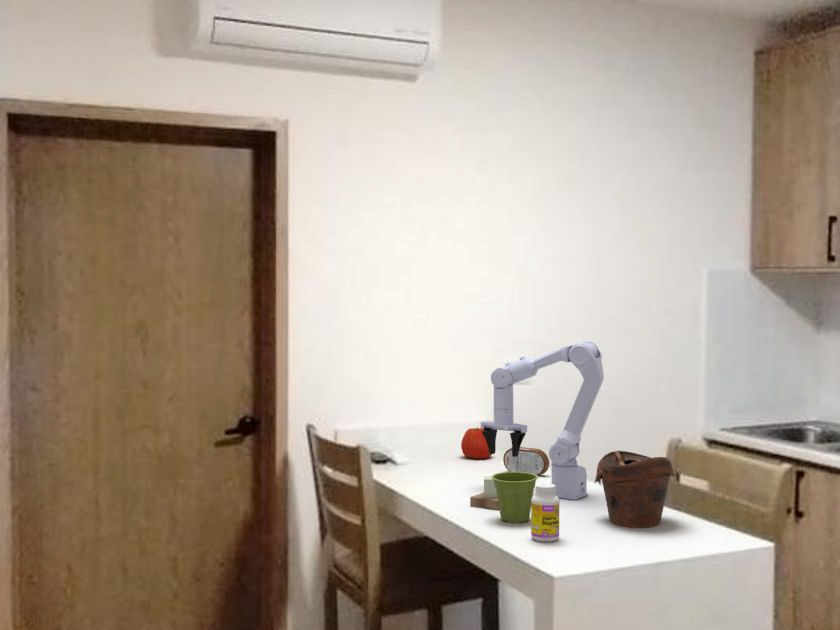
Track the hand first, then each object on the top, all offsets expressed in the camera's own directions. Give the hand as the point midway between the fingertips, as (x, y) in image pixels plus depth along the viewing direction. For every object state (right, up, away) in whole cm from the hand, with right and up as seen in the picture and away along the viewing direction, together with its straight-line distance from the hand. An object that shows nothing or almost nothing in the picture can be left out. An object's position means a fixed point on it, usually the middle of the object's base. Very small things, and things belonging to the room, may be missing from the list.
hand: (503, 455), depth 290 cm
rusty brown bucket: (+30, -12, -37) cm, 49 cm away
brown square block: (-4, -12, -18) cm, 22 cm away
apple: (-5, -8, +51) cm, 52 cm away
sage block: (-5, -9, -19) cm, 21 cm away
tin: (+9, -10, +23) cm, 26 cm away
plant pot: (0, -12, -35) cm, 37 cm away
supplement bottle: (+5, -13, -53) cm, 55 cm away
